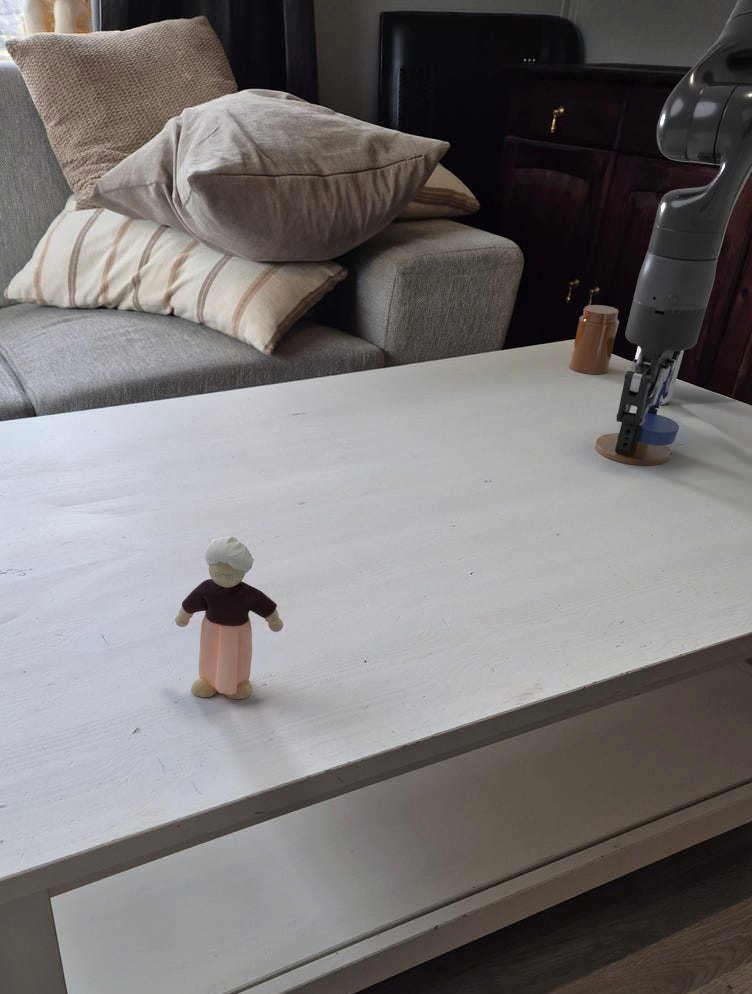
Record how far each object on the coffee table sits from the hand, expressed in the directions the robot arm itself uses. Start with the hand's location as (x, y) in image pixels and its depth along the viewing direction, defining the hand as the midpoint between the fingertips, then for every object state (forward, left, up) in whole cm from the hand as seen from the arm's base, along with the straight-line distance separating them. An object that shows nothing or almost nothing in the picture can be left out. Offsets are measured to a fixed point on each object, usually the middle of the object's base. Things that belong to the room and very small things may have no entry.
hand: (632, 445), depth 108 cm
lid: (-1, +1, +3) cm, 3 cm away
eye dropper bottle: (-12, -16, -1) cm, 20 cm away
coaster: (0, 0, -1) cm, 1 cm away
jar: (-10, -29, -1) cm, 31 cm away
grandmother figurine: (+54, +38, -1) cm, 66 cm away
